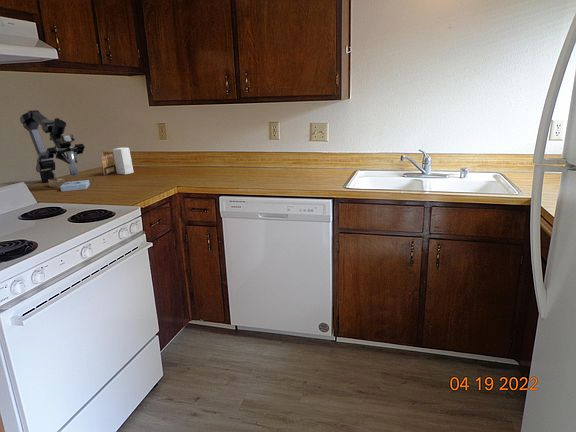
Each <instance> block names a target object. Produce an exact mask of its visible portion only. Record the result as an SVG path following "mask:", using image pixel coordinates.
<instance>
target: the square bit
mask: <svg viewBox="0 0 576 432" xmlns="http://www.w3.org/2000/svg"><path fill="white" fill-rule="evenodd" d="M65 182H66V180H65V178H58V177H57V178H56V177H55V178H53V179H48V182H47V183H48V186H49V187H52V188H61V186H62V185H63V184H64V183H65Z"/></svg>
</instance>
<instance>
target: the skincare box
mask: <svg viewBox="0 0 576 432" xmlns="http://www.w3.org/2000/svg"><path fill="white" fill-rule="evenodd" d="M112 156H113V160H114V164H115V166H116V171H117V173H116V174H117V175H129V174H133V173H134V168H133V167H134V166H133V162H132V161H133V160H132V156H131V151H130V147H117V148H112Z"/></svg>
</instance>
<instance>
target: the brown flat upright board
mask: <svg viewBox="0 0 576 432" xmlns="http://www.w3.org/2000/svg"><path fill="white" fill-rule="evenodd" d="M100 159H101V171H102V176H103V177H107V176H110V175H113V173H114V174H117V169H116V164H115V159H114V155H113V153H109V154H107V155H106V154H105V155H102V156H101V158H100Z"/></svg>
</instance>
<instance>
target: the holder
mask: <svg viewBox="0 0 576 432" xmlns="http://www.w3.org/2000/svg"><path fill="white" fill-rule="evenodd" d="M89 186H90V180H89V179H86V180H85V179H84V180H76V181H75V180H74V181H65V183H64V184H63V185H62V186H61V187H60V191H61V192H68V191H79V190H87V189H88V188H89Z"/></svg>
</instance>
